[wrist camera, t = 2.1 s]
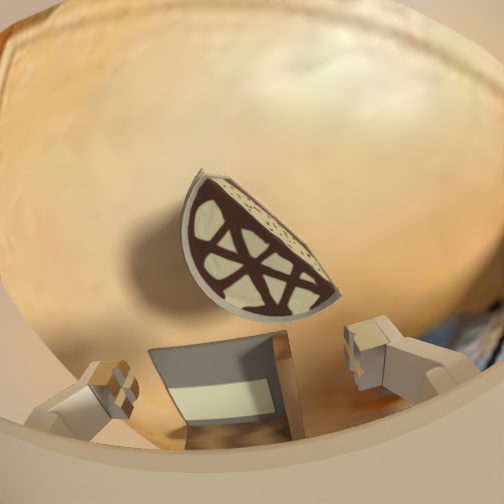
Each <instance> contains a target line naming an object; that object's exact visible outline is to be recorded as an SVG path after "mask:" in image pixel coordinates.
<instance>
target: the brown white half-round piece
mask: <svg viewBox="0 0 504 504" xmlns="http://www.w3.org/2000/svg"><path fill="white" fill-rule="evenodd" d="M180 241H181V246H182V251H183V256H184V259H185V261H186V264H187V266H188V269H189V271H190V273H191V274H192V276H193V278H194V280H195V281H196V283H197V284H198V285H199V286H200V288H201V289H202V290H203V291H204V293H205V294H206V295H207V296H208V297H209V298H211V299H212V300H213V301H214V302H215V303H216V304H217V305H219V306H220V307H222V308H223V309H225V310H227V311H228V312H230V313H232V314H234V315H236V316H239V317H241V318H244V319H247V320H251V321H254V322H261V323H268V324H282V323H289V322H296V321H299V320H303V319H306V318H309V317H312V316H314V315H316V314H318V313H320V312H322V311H324V310H325V309H327V308H329V307H330V306H332V305H333V304H334V303H336V302H337V301H338V300H339V299H340V298H342V297H343V296H342V293H341V291H340V289H339V287H336V286H335V284H334V283H333V281H332V280H331V279H330V277H329V276H328V274H327V273H326V272H325V270H324V269H323V267H322V266H321V264H320V263H319V262H318V260H317V259H316V257H315V256H314V255H313V253H312V252H311V251H310V249H309V248H308V246H307V245H306V244H305V243H304V242H303V241H302V240H301V239H300V238H299V237H298V236H297V235H296V234H294V233H293V232H292V231H291V230H290V229H289V228H288V227H287V226H286V225H284V224H283V223H282V222H281V221H280V220H279V219H278V218H277V217H275V216H274V215H273V214H272V213H271V212H270V211H269V210H268V209H266V208H265V207H264V206H263V205H262V204H261V203H260V202H258V201H257V200H256V199H255V198H254V197H253V196H252V195H250V194H249V193H248V192H247V191H246V190H245V189H243V188H242V187H241V186H240V185H239V184H238V183H236V182H235V181H234V180H233V179H232V178H231V177H227V176H219V175H212V174H205V173H204V169H203V168H201V169H200V171H199V172H198V174H197V175H196V177H195V178H194V180H193V182H192V184H191V186H190V188H189V190H188V192H187V195H186V198H185V201H184V205H183V209H182V213H181V222H180Z"/></svg>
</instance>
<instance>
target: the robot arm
mask: <svg viewBox="0 0 504 504" xmlns="http://www.w3.org/2000/svg"><path fill="white" fill-rule="evenodd" d="M344 337H345V339H346V341H347V343H346V345H345V346H344V347H345V357H346V362H347V365H348V367H349V370H350V371H352V372H354V381H355V383H356V385H357V387H358V390H359V391H363V390H366V389H370V388H373V387H377V386H380V385H382V386H384V387H385V388H387V389H388V390H390V391H392V392H393V393H395V394H397V395H398V396H400V397H402V398H404V399H405V400H407V401H409V402H410V403H412V404H414V405H415V406H412V407H410V408H407V409H405V410H402V411H400V412H397V413H394V414H392V415H389V416H386V417H383V418H380V419H377V420H374V421H371V422H368V423H365V424H362V425H358V426H355V427H352V428H348V429H344V430H341V431H337V432H333V433H329V434H325V435H320V436H316V437H311V438H306V439H301V440H296V441H290V442H284V443H278V444H271V445H263V446H255V447H246V448H234V449H219V450H154V449H140V448H130V447H121V446H112V445H106V444H99V443H92V442H89V441H90V440H91V439H92V438H93V437H94V436H95V435H96V434H97V433H98V432H99V431H100V430H101V429H102V428H103V427H104V426H105V425H106V424H108V423H109V422H110V421H111V419H129V418H130V415H131V413H132V410H133V408H134V407H133V404H132V403H133V402H134V401H136V400H137V398H138V395H139V385H138V382H137V380H136V378H135V377H134V376H133V375H131V374H130V373H129V372H130V367H129V366H128V364H127V362H125V361H123V360H111V361H93V362H91V363H90V365H89V366H88V367H87V369H86V370H85V372H84V373H83V375H82V376H81V378H80V379H79V381H78V382H77V384H76V385H72V386H70V387H69V388H67V389H65V390H64V391H62V392H61V393H59V394H57V395H56V396H54V397H53V398H51V399H49V400H48V401H46V402H45V403H43V404H42V405H40V406H38V407H36V408H35V409H34V410H33V412H32V413H31V415H30V416H29V418H28V419H27V421H26V422H25V424H24V425H21V424H18V423H15V422H12V421H9V420H7V419H4V418H1V417H0V504H504V359H502V360H501V361H499V362H498V363H496V364H495V365H493V366H491V367H490V368H488V369H486V370H485V371H483V372H480V371H479V370H478V369H477V368H476V367H475V366H474V364H473V363H472V362H471V361H470V360H469V359H468V358H467V357H466V356H465V355H464V354H463V353H459V352H456V351H453V350H449V349H446V348H443V347H440V346H436V345H433V344H430V343H427V342H423V341H420V340H417V339H414V338H411V337H406V338H404V337H403V335H402V334H401V333H400V332H399V331H398V329H397V328H396V327H395V326H394V325H393V323H392V322H391V321H390V320H389V319H388V317H387V316H386V315H384V314H383V315H380V316H377V317H374V318H371V319H369V320H365V321H362V322H358V323H355V324H351V325H347V326H344Z"/></svg>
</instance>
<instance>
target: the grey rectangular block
mask: <svg viewBox="0 0 504 504" xmlns="http://www.w3.org/2000/svg"><path fill="white" fill-rule="evenodd" d="M282 333H287V330H284V331H279V332H273V333H268V334H262V335H256V336H250V337H244V338H238V339H232V340H225V341H218V342H211V343H203V344H195V345H187V346H178V347H168V348H158V349H150V351H149V352H150V354H151V357H152V359H153V361H154V363H155V365H156V367H157V369H158V371H159V373H160V375H161V377H162V379H163V380H164V382H165V384H166V386H167V388H180V387H195V386H207V385H217V384H227V383H235V382H243V381H250V380H257V379H264V378H267V382H268V385H269V389H270V393H271V397H272V401H273V405H274V408H275V412H274V413H267V414H259V415H251V416H243V417H233V418H221V419H205V420H186V422H187V423H188V425H189V426H205V425H222V424H234V423H245V422H254V421H262V420H269V419H276V418H282V417H287V413H286V409H285V404H284V400H283V395H282V390H281V386H280V381H279V377H278V372H277V368H276V363H275V356H274V347H273V338H272V335H277V334H282Z"/></svg>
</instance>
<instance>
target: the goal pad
mask: <svg viewBox="0 0 504 504" xmlns="http://www.w3.org/2000/svg"><path fill="white" fill-rule="evenodd" d="M168 390H169V392H170V394H171V396H172V398H173V399H174V401H175V403H176V405H177V406H178V408H179V410H180V412H181V413H182V415H183V417H184V418H185V420H205V419H221V418H233V417H243V416H251V415H259V414H267V413H274V412H275V408H274V405H273V401H272V397H271V393H270V389H269V385H268V382H267V378H264V379H257V380H250V381H243V382H235V383H227V384H217V385H207V386H195V387H180V388H168Z"/></svg>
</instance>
